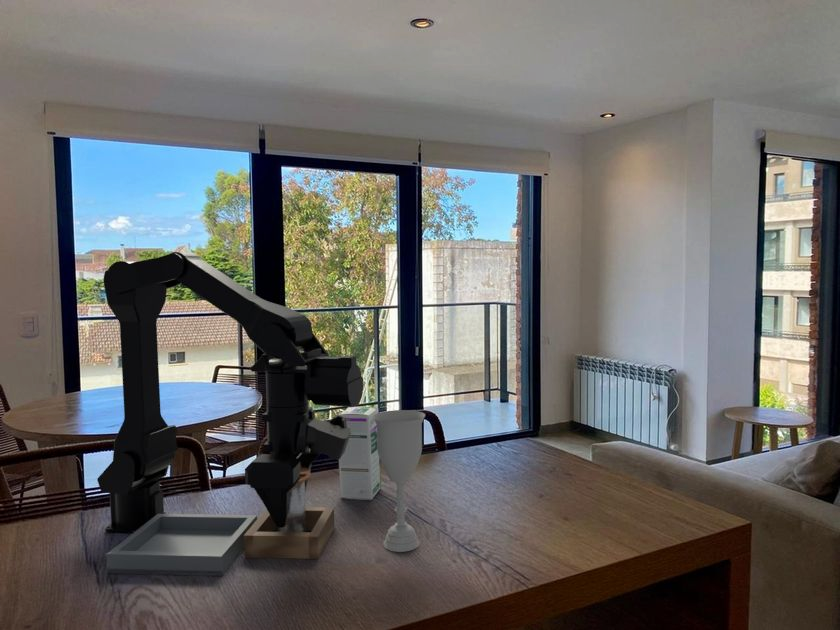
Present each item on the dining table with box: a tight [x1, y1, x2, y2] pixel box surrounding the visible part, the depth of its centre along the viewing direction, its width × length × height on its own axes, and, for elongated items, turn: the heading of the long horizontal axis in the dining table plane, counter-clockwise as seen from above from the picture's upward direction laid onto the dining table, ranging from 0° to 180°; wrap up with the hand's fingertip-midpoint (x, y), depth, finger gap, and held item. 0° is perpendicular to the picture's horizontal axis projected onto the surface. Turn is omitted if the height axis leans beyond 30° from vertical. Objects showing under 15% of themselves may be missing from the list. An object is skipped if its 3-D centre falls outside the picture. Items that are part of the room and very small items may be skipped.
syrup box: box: [337, 406, 382, 501], centre depth 103 cm, size 6×6×14 cm
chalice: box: [373, 409, 426, 553], centre depth 83 cm, size 7×7×18 cm
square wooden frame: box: [243, 506, 336, 560], centre depth 85 cm, size 10×10×3 cm
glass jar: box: [276, 466, 311, 532], centre depth 85 cm, size 6×6×10 cm
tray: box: [105, 513, 258, 577], centre depth 82 cm, size 15×13×2 cm
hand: (290, 513), depth 85 cm, fingers open, 9 cm apart
